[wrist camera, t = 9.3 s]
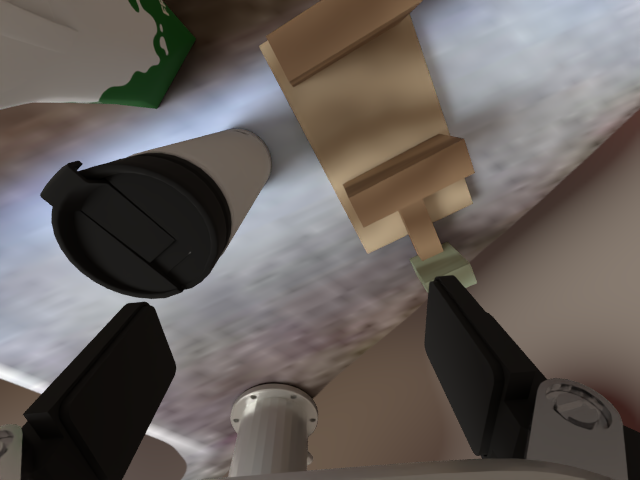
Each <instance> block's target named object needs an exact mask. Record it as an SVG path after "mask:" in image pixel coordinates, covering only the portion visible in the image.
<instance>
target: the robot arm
mask: <svg viewBox="0 0 640 480" xmlns="http://www.w3.org/2000/svg"><path fill="white" fill-rule="evenodd" d="M425 332H426V333H425V350H426V353H427V356H428V358H429V360H430V362H431V364H432V366H433V368H434V370H435V372H436V375H437V377H438V379H439V381H440V383H441V385H442V387H443V389H444V392H445V394H446V396H447V398H448V400H449V402H450V404H451V407H452V408H453V411H454V413H455V415H456V417H457V419H458V421H459V424H460V425H461V428H462V430H463V432H464V434H465V436H466V438H467V440H468V443H469V445H470V447H471V449H472V451H473V453H474V454H475V455H477V456H479V455H481V457H482V459H467V460H450V461H433V462H415V463H402V464H390V465H376V466H365V467H350V468H339V469H325V470H311V471H307V465H309V464H311V463H312V461H313V456H312V455H311V454H310V453H309V452H308V437H309V436H310V435H311V434H312V433H313V432H314V430H315V428H316V426H317V422H318V410H317V406H316V404H315V402H314V401H313V399H312V398H311V397H310V396H309V395H308V394H306V393H305V392H303V391H302V390H300V389H298V388H295V387H293V386H289V385H284V384H264V385H259V386H256V387H253V388H251V389H249V390H247V391H245V392H244V393H242V394H241V395H240V396H239V397H238V398H237V400H236V401H235V403H234V405H233V408H232V412H231V423H232V426H233V428H234V429H235V431H236V432H237V433H238V435H237V440H236V444H235V449H234V453H233V458H232V462H231V467H230V471H229V476H228V477H227V478H214V479H203V480H640V433H639V432H637V431H635V430H632V429H630V428H628V427H626V426H624V425H623V423H622V420H621V418H620V415H619V413H618V412H617V410H616V409H615V408H614V406H613V405H612V404H611V403H610V402H609V401H608V400H606V399H605V398H604V397H603V396H602V395H600V394H599V393H597V392H596V391H594V390H593V389H591V388H589V387H587V386H585V385H583V384H580V383H578V382H575V381H571V380H568V379H560V378H553V379H546V378H545V377H544V375H543V374H542V373H541V372H540V371H539V370H538V368H537V367H536V366H535V365H534V364H533V363H532V361H530V359H529V358H528V357H527V356H526V355H525V353H524V352H523V351H522V350H521V349H520V348H519V346H518V345H517V344H516V343H515V342H514V341H513V340H512V338H511V337H510V336H509V335H508V334H507V333H506V331H504V329H503V328H502V327H501V326H500V325H499V324H498V322H497V321H496V320H495V319H494V318H493V317H492V316H491V315H490V314H489V313H487V312H485V311H484V310H483V308H482V307H481V306H480V305H479V304H478V302H477V301H476V300H475V299H474V298H473V297H472V295H471V294H470V293H469V292H468V291H467V289H466V288H465V287H464V286H463V285H462V284H461V282H460V281H459V280H458V279H457V278H456V277H455V276H454V275H447V276H436V277H435V279H434V281H430V283H429V291H428V304H427V317H426V331H425ZM175 372H176V364H175V361H174V358H173V356H172V353H171V350H170V348H169V345H168V342H167V340H166V337H165V334H164V332H163V329H162V326H161V324H160V321H159V318H158V316H157V313H156V310H155V308H154V307H153V306H150V305H149V304H148V303H147V302H137V303H128V304H126V305H125V306H124V307H123V308H122V309H121V310H120V311H119V312H118V313H117V314H116V315H115V316H114V317H113V318H112V319H111V321H110V322H109V323H108V324H107V325H106V326H105V327H104V328H103V329H102V330H101V331H100V332H99V333H98V334H97V336H96V337H95V338H94V339H93V340H92V341H91V342H90V343H89V344H88V345H87V346H86V347H85V348H84V349H83V350H82V352H81V353H80V354H79V355H78V356H77V357H76V358H75V359H74V360H73V361H72V362H71V363H70V364H69V365H68V367H67V368H66V369H65V370H64V371H63V372H62V373H61V374H60V375H59V376H58V377H57V378H56V379H55V380H54V382H53V383H52V384H51V385H50V386H49V387H48V388H47V389H46V390H45V391H44V392H43V393H42V394H41V395H40V396H39V398H38V399H37V400H36V401H35V402H34V403H33V404H32V405H31V406H30V407H29V409H27V411H25V413H24V414H23V415H24V416H25V418H26V419H27V422H26V424H25V425H24V426H23V427H22V428H21V427H20V426H18V425H16V424H7V425H3V426H0V480H122V478H123V477H124V475H125V473H126V470H127V469H128V467H129V465H130V463H131V461H132V459H133V457H134V455H135V453H136V451H137V449H138V447H139V445H140V443H141V441H142V439H143V437H144V435H145V433H146V431H147V429H148V427H149V425H150V423H151V421H152V419H153V417H154V415H155V413H156V411H157V409H158V407H159V405H160V403H161V401H162V399H163V398H164V396H165V394H166V392H167V390H168V388H169V386H170V384H171V382H172V380H173V378H174V376H175Z"/></svg>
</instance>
